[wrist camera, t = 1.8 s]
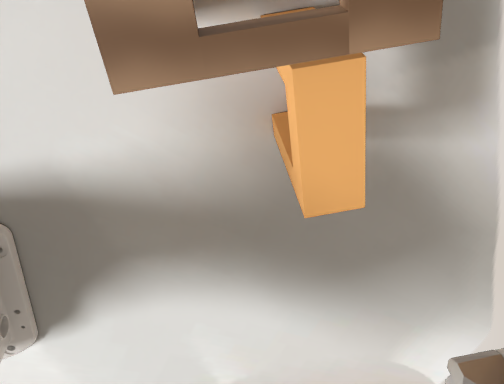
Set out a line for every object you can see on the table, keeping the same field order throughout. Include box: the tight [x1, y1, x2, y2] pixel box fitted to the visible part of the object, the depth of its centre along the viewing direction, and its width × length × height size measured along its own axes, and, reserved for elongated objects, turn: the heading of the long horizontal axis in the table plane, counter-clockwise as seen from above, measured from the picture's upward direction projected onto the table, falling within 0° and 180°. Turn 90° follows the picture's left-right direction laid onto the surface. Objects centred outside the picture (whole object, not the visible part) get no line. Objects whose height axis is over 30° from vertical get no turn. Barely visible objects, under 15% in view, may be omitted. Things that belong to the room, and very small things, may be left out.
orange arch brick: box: [261, 7, 366, 218], centre depth 33 cm, size 10×4×12 cm, turn 7°
